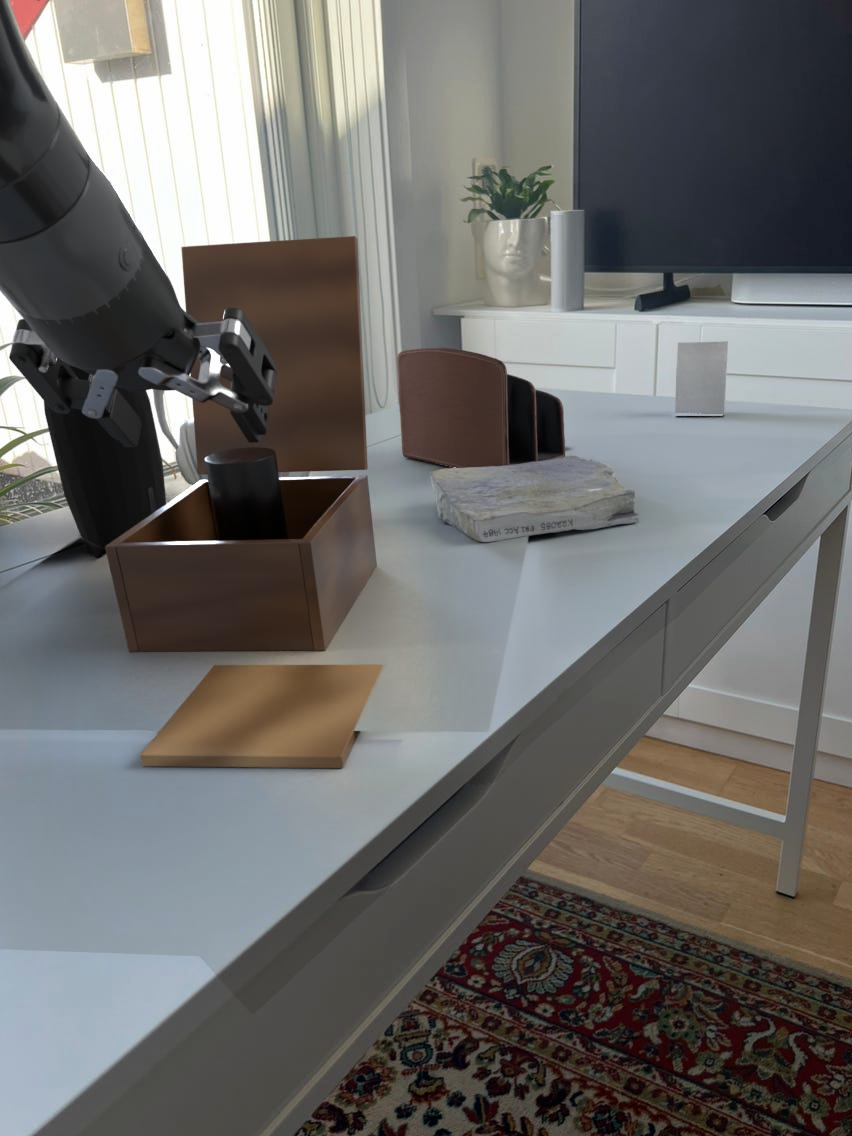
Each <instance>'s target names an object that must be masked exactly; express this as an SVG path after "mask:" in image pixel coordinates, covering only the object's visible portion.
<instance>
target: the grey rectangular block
mask: <svg viewBox="0 0 852 1136" xmlns="http://www.w3.org/2000/svg"><path fill="white" fill-rule="evenodd" d="M728 345H729V341H725V340H724V341H722V340H721V341H685V342H683V341H682V342H677V353H676V356H677V357H676V370H675V373H676V374H675V407H674V408H675V411H674V414H675V413H691V414H692V413H694V414H695V413H697V414H699V413H701V414H724V411H725V412H726V396H727V394H726V393H727V375H728V374H727V373H728V347H729V346H728ZM724 415H725V414H724Z"/></svg>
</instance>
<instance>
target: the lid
mask: <svg viewBox="0 0 852 1136" xmlns="http://www.w3.org/2000/svg"><path fill="white" fill-rule="evenodd" d="M358 242H359V241H358V237H356V236H355V235H348V236H347V235H346V236H333V237H331V236H330V237H315V238H314V237H313V238H300V239H299V238H298V239H286V240H285V239H282V240H267V241H249V242H235V243H234V242H233V243H219V244H203V245H202V244H201V245H200V244H199V245H186V246H185V245H184V246H181V247H180V248H181V249H180V250H181V263H182V275H183V276H182V277H183V289H184V290H183V291H184V302H185V305H184V306H185V312H186V313H187V314H189V315H190V316H192V317H193V318H195V319H196V320H197V321H198V322H199V323H208V322H218V321H223V316H224V311H225V310H226V309H227V308H238V309H240V310H242V311H243V312H244V313H245V315H246V316H247V318H248V319H249V321H250V323H251V324H252V326H253V328H254V329H255V331H256V333H257V334H258V336H259V337H260V339H261V341H262V342H263V344H264V346H265V347H266V349H267V351H268V352H269V354H270V356H271V357H272V359H273V360H274V362H275V364H276V365H277V376H276V383H275V391H274V398H273V403H272V404H271V405H269V406H266V408H267V409H268V411H269V415H268V422H267V430H266V435H262V439H261V442H253V443H249V442H248V440H247V439H246V437H245V436H244V434H243V433H242V431H241V429H240V428H239V426H238V425H237V423H236V422H235V420H234V418H233V417H232V415H231V414H230V411H231V410H229V409H227V408H225V407H223V406H221V405H220V404H218V403H216V402H214V401H212V400H208V401H206V402H204V403H201V402H198V401H196V400H194V399H192V398H191V401H192V411H193V412H192V414H193V418H194V429H195V443H196V457H197V470H198V475H207V471H206V466H205V458H206V457H207V456H209V455H211V454H214V453H217V452H221V451H225V450H231V449H238V448H250V447H261V448H269V449H273V450H274V451H275V452H276V458H277V465H278V472H310V473H311V472H337V471H339V472H341V471H367V470H368V445H367V444H368V443H367V422H366V421H367V420H366V400H365V397H366V396H365V377H364V375H365V374H364V356H363V354H364V353H363V333H362V332H363V331H362V311H361V290H360V287H361V286H360V268H359V267H360V265H359V263H360V262H359V245H358V244H359V243H358ZM200 367H201V363H200V361H199V359H198V358H197V359H196V361H195V364H194V366H193V368H192V370H191V373H190V376H191V377H193V378H195V379H196V380H198V378H199V373H200ZM219 382H220V384H221V385H222V386H224V387H225V388H227V389H229V390H230V389H231V383H232V382H231V381H229V380H227V379H226V378H224V377H222V376H220V377H219Z"/></svg>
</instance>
